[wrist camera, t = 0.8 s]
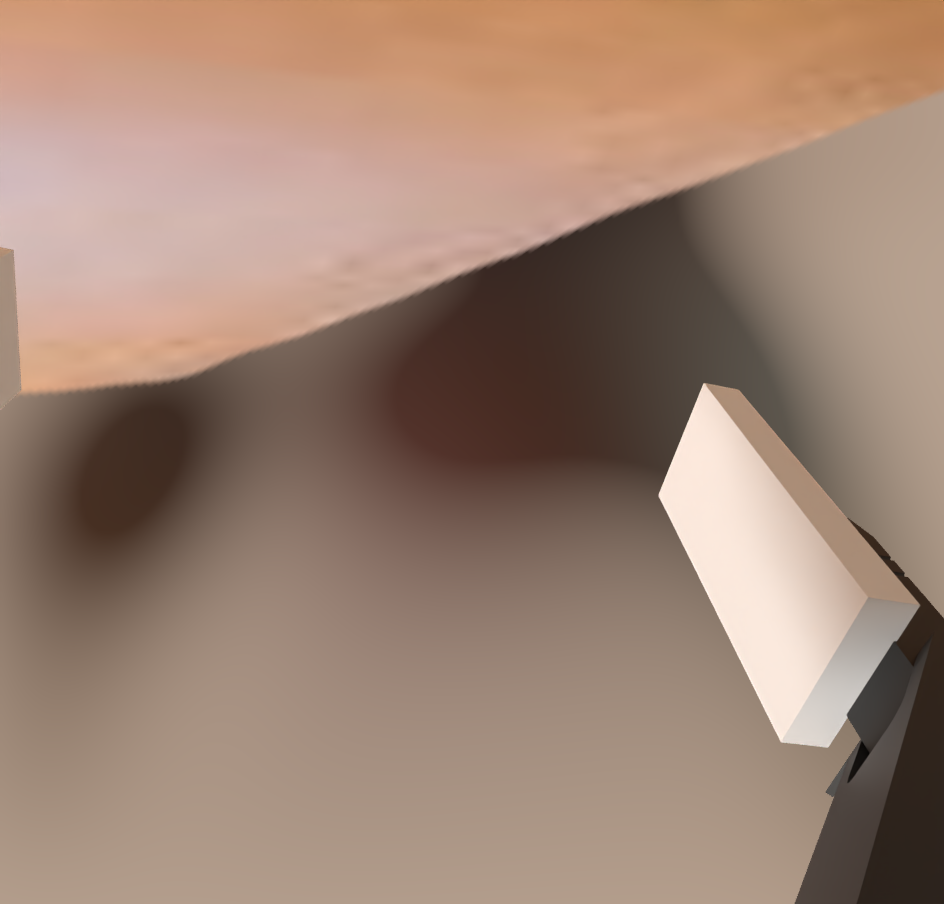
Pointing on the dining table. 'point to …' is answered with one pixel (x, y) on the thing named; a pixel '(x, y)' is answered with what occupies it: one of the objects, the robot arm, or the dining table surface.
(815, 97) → the dining table surface
